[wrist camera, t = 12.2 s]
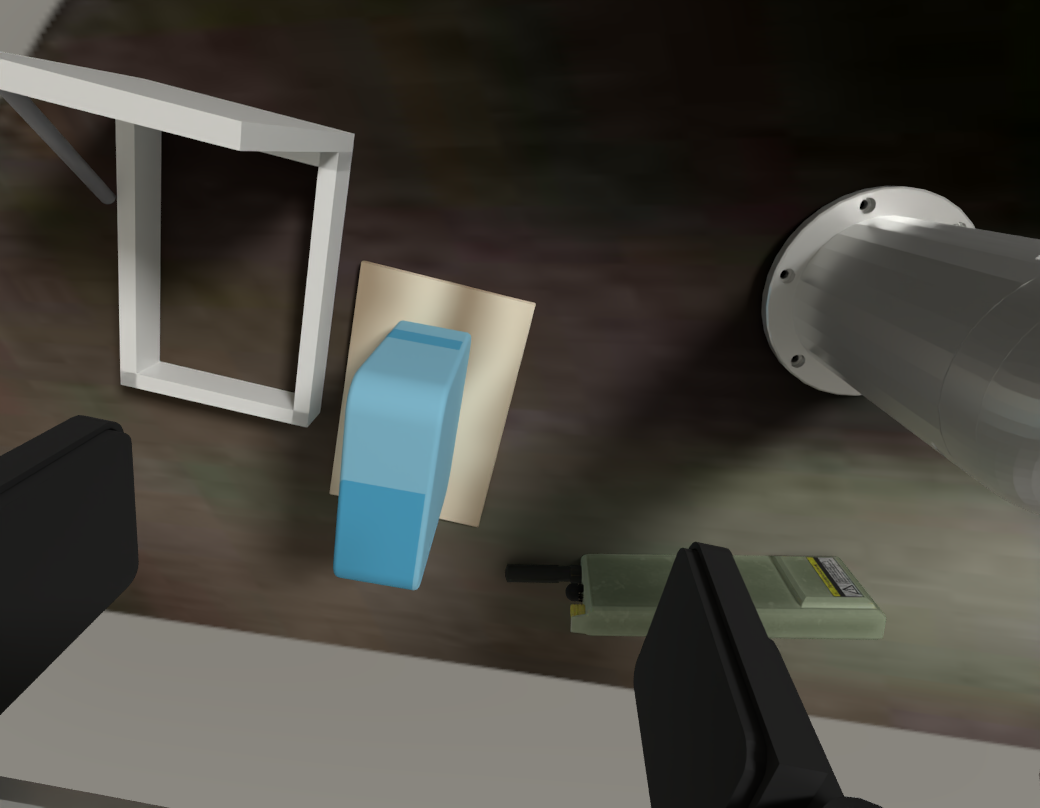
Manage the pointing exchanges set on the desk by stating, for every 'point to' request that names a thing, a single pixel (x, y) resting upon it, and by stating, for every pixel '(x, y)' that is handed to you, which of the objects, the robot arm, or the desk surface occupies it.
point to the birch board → (488, 376)
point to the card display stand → (139, 215)
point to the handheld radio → (769, 580)
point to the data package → (398, 453)
